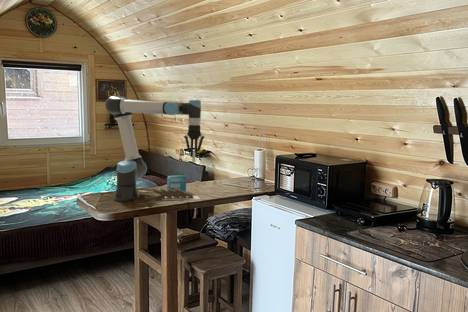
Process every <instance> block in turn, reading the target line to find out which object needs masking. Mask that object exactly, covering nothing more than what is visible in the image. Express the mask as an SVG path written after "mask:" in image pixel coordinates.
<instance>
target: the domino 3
mask: <svg viewBox="0 0 468 312" xmlns="http://www.w3.org/2000/svg"><path fill="white" fill-rule="evenodd" d="M159 190H160V191H161V192H162V193H165V194H167V195H170V196H173V197H176V198H178V199H179V197H180V196H177V195H175V194H172V193H169V192H168V191H167V189H164V188H160V189H159Z"/></svg>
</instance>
